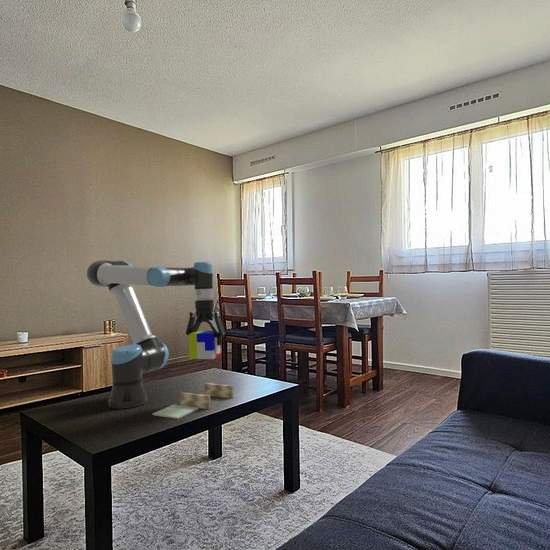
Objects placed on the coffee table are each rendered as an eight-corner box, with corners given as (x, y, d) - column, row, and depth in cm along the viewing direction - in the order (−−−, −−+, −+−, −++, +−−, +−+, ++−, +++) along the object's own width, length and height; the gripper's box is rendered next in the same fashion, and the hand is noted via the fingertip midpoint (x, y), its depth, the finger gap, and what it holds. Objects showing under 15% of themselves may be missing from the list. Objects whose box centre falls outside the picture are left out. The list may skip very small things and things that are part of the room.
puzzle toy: (213, 359, 165) (212, 333, 165) (189, 358, 167) (188, 333, 167) (221, 354, 174) (220, 330, 175) (199, 354, 177) (198, 330, 177)
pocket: (180, 405, 166) (180, 393, 166) (206, 394, 181) (206, 382, 181) (208, 409, 159) (208, 396, 160) (233, 397, 175) (233, 385, 175)
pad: (152, 415, 155) (152, 413, 155) (174, 406, 166) (174, 404, 166) (177, 418, 149) (177, 417, 149) (198, 409, 160) (198, 407, 160)
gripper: (175, 300, 173) (177, 352, 173) (222, 299, 162) (224, 355, 162) (187, 299, 180) (188, 349, 179) (233, 298, 169) (234, 352, 169)
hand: (205, 352), depth 171 cm, fingers closed on puzzle toy, 11 cm apart
